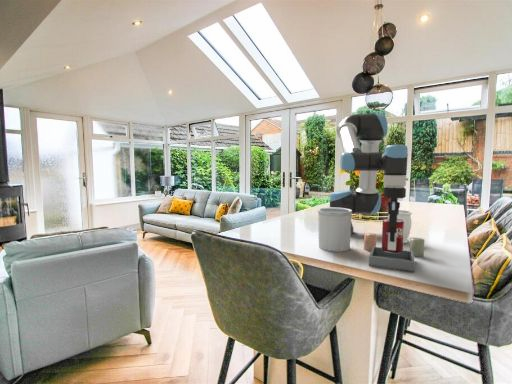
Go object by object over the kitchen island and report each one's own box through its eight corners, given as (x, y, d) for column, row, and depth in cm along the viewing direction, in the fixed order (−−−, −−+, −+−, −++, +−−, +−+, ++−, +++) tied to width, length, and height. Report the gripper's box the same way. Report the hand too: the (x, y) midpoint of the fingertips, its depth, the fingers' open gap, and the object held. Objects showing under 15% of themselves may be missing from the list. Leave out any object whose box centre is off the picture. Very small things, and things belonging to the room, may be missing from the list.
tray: (368, 265, 102) (369, 256, 102) (372, 254, 115) (372, 246, 115) (414, 272, 96) (414, 262, 95) (412, 260, 109) (413, 251, 108)
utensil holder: (332, 254, 116) (334, 213, 115) (310, 245, 130) (311, 208, 128) (358, 249, 123) (359, 210, 122) (334, 241, 136) (335, 206, 135)
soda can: (377, 248, 108) (378, 218, 107) (395, 248, 109) (396, 218, 108) (388, 254, 101) (389, 221, 100) (407, 253, 102) (408, 221, 101)
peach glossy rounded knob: (363, 250, 122) (363, 234, 121) (364, 247, 126) (365, 232, 126) (375, 251, 120) (376, 236, 119) (376, 249, 124) (377, 233, 123)
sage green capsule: (409, 256, 114) (410, 239, 113) (409, 253, 118) (410, 237, 117) (424, 258, 111) (425, 241, 111) (423, 254, 116) (424, 238, 115)
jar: (409, 240, 140) (411, 210, 138) (411, 245, 130) (412, 213, 129) (386, 237, 144) (387, 209, 143) (386, 242, 135) (387, 212, 134)
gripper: (406, 188, 92) (403, 255, 94) (405, 185, 110) (403, 242, 112) (381, 188, 96) (379, 252, 98) (384, 185, 114) (382, 240, 116)
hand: (392, 247), depth 105 cm, fingers closed on soda can, 7 cm apart
